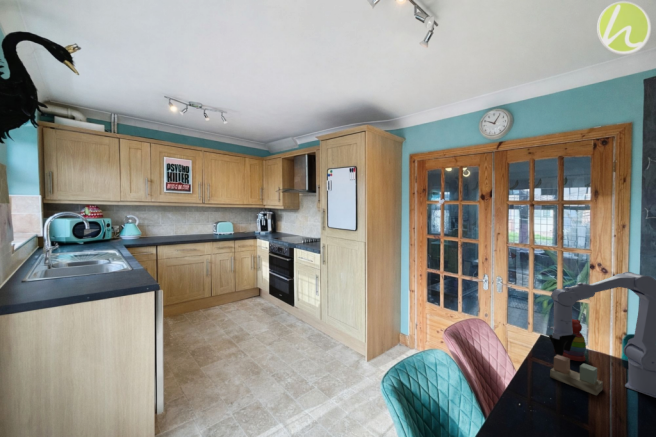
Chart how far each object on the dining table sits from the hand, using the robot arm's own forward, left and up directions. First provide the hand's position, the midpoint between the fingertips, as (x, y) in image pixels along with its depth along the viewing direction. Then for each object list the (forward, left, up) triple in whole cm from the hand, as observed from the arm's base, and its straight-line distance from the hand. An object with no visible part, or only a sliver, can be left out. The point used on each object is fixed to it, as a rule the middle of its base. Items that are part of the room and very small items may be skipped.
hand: (562, 352), depth 112 cm
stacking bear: (+5, -27, -11) cm, 29 cm away
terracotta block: (0, 0, -7) cm, 7 cm away
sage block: (-8, 0, -7) cm, 11 cm away
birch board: (-4, 0, -10) cm, 11 cm away
